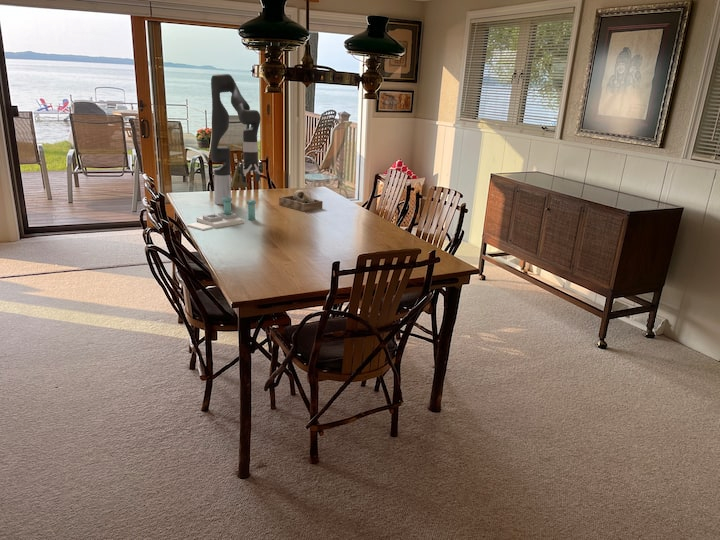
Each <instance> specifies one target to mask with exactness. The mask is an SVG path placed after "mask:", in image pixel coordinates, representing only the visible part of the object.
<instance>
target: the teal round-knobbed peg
mask: <svg viewBox="0 0 720 540" xmlns="http://www.w3.org/2000/svg"><path fill="white" fill-rule="evenodd" d="M246 204H247V216H248V217H247V220H248V221H255V220H256V204H257V200H255V199H248V200H246Z"/></svg>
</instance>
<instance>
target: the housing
mask: <svg viewBox="0 0 720 540" xmlns="http://www.w3.org/2000/svg"><path fill="white" fill-rule="evenodd" d="M197 221H198V222H197ZM196 222H197V223H201V224H205V225H208V226H212V227H213V229H214V228H215V229H217V228H219V229H220V228H224V227H229V226H234V225H236V226H237V225H240V224H244V223H245V221H244V218H242V217H238V214H237V213H235V212H232V211H231V215H224V212H218V213H217V214H216V213H213V214H206V215H202V216H197V217H196Z"/></svg>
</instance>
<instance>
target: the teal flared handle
mask: <svg viewBox="0 0 720 540" xmlns="http://www.w3.org/2000/svg"><path fill="white" fill-rule="evenodd" d="M222 201H224V205H223V213H224V215H231V212H232V201H233V198H232V197H231V198H230V197H224V198H222Z"/></svg>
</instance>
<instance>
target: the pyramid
mask: <svg viewBox="0 0 720 540" xmlns="http://www.w3.org/2000/svg"><path fill="white" fill-rule="evenodd" d="M238 163H241V162H240V160H238V162H237V164H236V167H235V170H234V173H233V176H232V179H231V188H238V189H243V188H244V189H245V188H249V186H250V185H249V183H248V180H247V179H246V183H243V182H242V176H241V175H239V174H238Z"/></svg>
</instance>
